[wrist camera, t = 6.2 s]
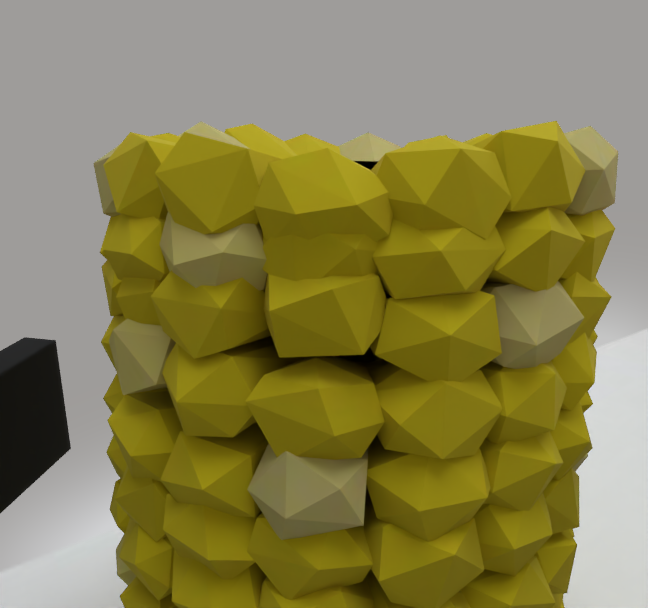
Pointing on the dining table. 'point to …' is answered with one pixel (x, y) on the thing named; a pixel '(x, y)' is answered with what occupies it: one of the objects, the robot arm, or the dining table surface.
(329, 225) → the food
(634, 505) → the dining table surface
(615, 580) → the dining table surface
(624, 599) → the dining table surface
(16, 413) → the robot arm
